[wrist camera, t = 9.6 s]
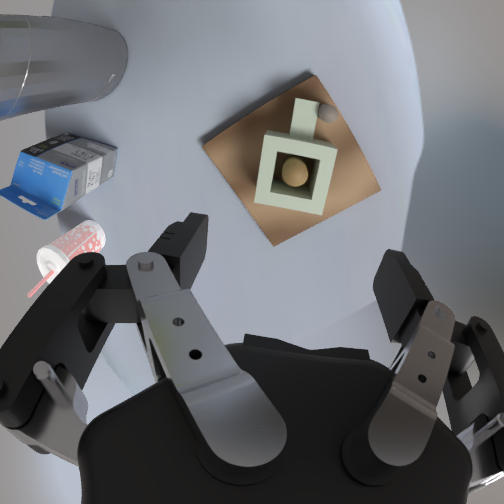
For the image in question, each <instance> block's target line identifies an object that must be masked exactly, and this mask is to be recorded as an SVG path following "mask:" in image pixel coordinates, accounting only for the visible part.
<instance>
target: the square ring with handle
mask: <svg viewBox="0 0 504 504" xmlns="http://www.w3.org/2000/svg"><path fill="white" fill-rule="evenodd" d="M318 108H319V103H318V102H314V101H309V100H304V99H299V98H295V103H294V109H293V114H292V120H291V126H290V132H289V134H288V133H282V132H277V131H271V130H268V131H267V132H266V133H265V135H264V141H263V147H262V154H261V160H260V167H259V173H258V180H257V187H256V193H255V200H254V203H259V204H265V205H270V206H276V207H281V208H287V209H292V210H297V211H302V212H307V213H312V214H317V215H322V213H323V209H324V205H325V201H326V197H327V193H328V189H329V185H330V181H331V176H332V172H333V168H334V163H335V159H336V154H337V150H338V149H337V148H336V147H335V146H334V145H333V144H332V143H331V142H327V141H322V140H318V139H313V135H314V130H315V125H316V119H317V114H318ZM277 151H278V152H284V153H289V154H294V155H299V156H305V157H309V158H314V159H315V160H314V164H313V169H312V174H311V179H310V183H309V186H304V185H301V186H297V187H293V186H290V185H288V184H287V183H286V182H283V181H278V180H273V175H274V169H275V163H276V157H277Z"/></svg>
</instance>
